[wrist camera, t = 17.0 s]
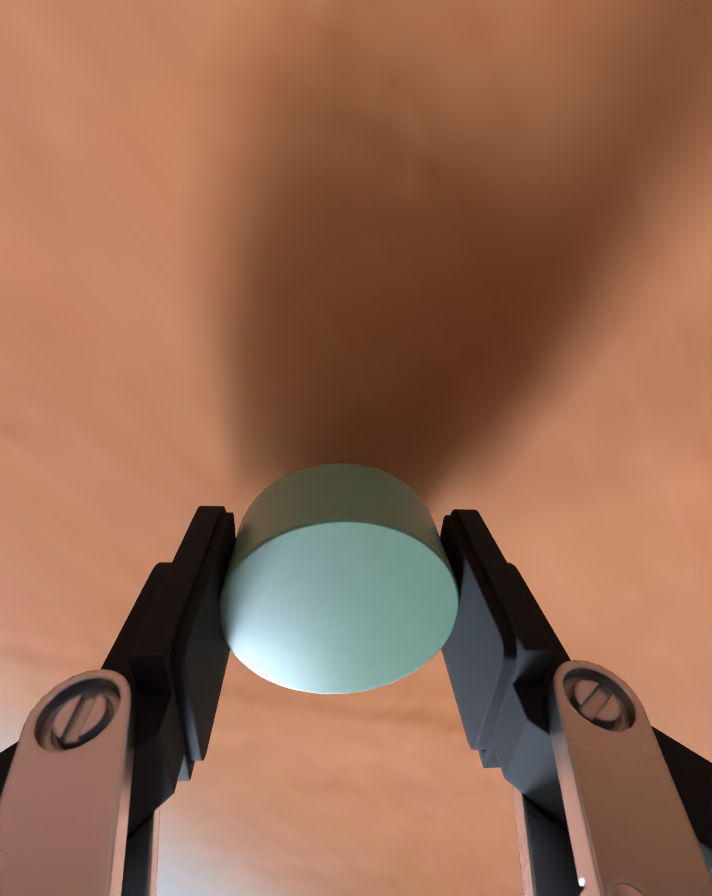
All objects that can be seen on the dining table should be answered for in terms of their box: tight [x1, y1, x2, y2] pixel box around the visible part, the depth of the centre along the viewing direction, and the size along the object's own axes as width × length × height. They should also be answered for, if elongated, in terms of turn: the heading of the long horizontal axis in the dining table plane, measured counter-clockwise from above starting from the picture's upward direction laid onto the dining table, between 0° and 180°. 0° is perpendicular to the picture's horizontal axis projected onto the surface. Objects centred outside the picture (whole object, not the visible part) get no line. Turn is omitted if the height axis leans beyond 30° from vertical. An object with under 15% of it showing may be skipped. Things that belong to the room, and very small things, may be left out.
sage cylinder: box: [219, 463, 459, 694], centre depth 10 cm, size 5×5×2 cm
